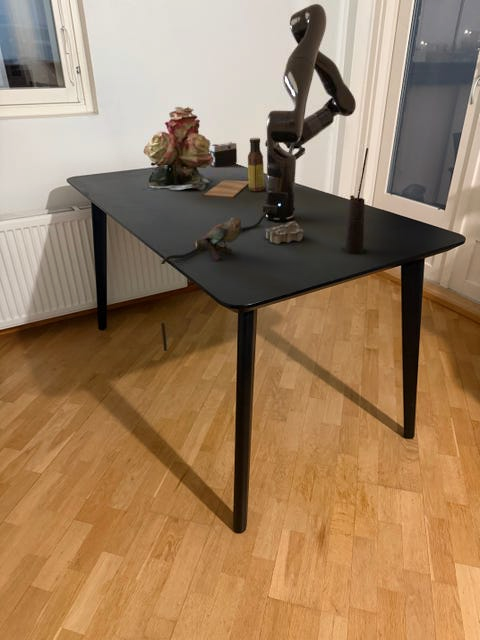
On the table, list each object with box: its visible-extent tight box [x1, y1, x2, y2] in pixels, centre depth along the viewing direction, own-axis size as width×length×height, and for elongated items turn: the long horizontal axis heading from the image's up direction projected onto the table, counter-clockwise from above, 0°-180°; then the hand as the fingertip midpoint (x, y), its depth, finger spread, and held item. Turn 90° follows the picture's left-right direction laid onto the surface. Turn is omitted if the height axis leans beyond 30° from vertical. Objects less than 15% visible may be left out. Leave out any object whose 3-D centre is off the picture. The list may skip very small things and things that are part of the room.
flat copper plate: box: [204, 179, 249, 199], centre depth 190 cm, size 24×12×1 cm, turn 163°
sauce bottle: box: [247, 137, 265, 193], centre depth 184 cm, size 6×6×20 cm
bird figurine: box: [195, 216, 243, 261], centre depth 126 cm, size 13×10×20 cm
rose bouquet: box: [143, 106, 213, 191], centre depth 191 cm, size 26×29×30 cm
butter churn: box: [344, 147, 369, 255], centre depth 125 cm, size 9×10×28 cm
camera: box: [209, 141, 238, 168], centre depth 230 cm, size 14×8×10 cm, turn 130°
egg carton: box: [264, 220, 305, 245], centre depth 139 cm, size 11×8×4 cm
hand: (272, 153), depth 174 cm, fingers open, 8 cm apart
